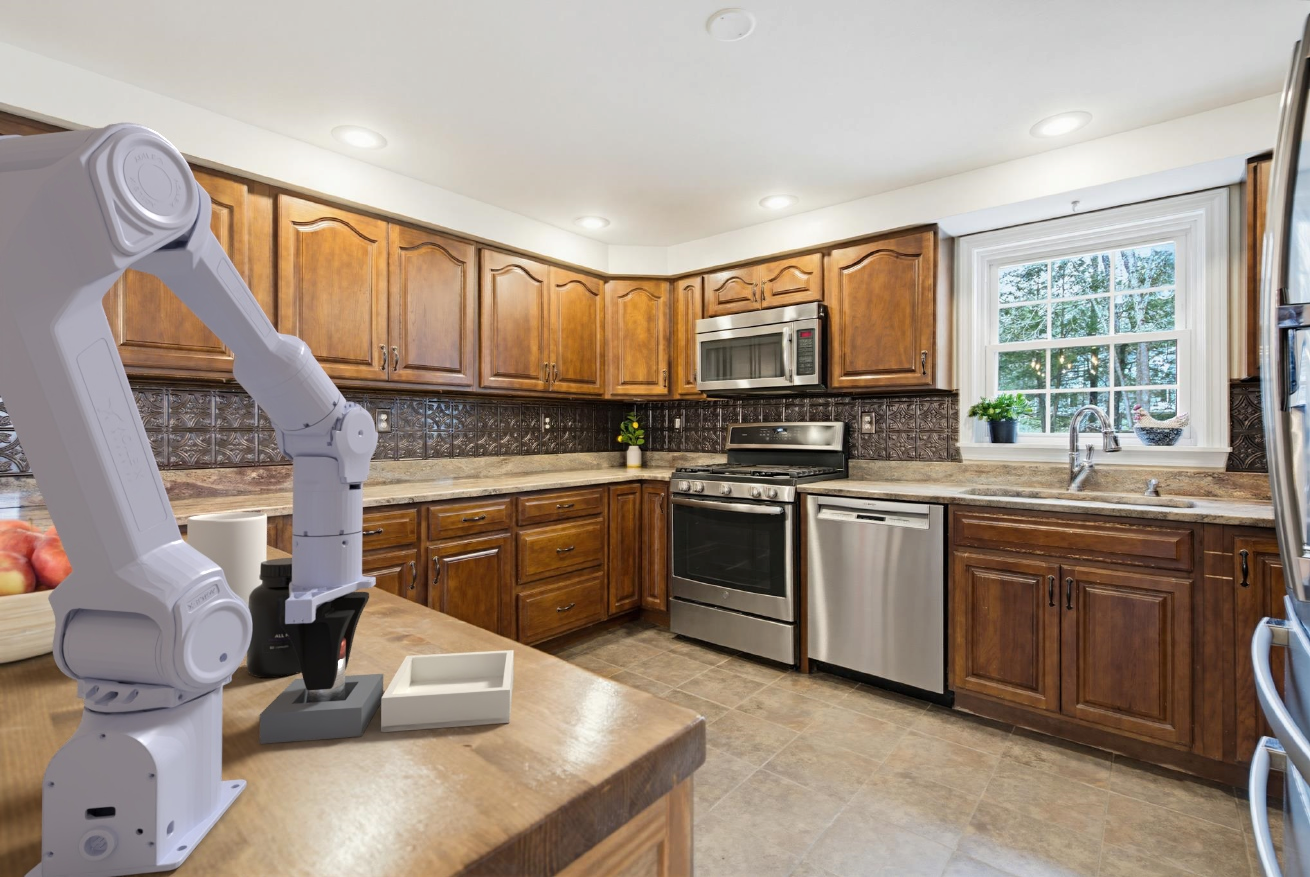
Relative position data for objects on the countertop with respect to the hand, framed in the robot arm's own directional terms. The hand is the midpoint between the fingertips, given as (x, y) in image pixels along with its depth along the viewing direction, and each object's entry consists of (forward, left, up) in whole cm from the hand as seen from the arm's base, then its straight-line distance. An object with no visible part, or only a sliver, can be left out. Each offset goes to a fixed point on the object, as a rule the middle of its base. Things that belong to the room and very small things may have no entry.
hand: (326, 680), depth 58 cm
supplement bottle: (+15, +9, -4) cm, 18 cm away
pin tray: (+2, -11, -4) cm, 12 cm away
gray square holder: (0, 0, -4) cm, 4 cm away
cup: (+25, +19, -4) cm, 32 cm away
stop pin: (0, 0, -3) cm, 3 cm away
